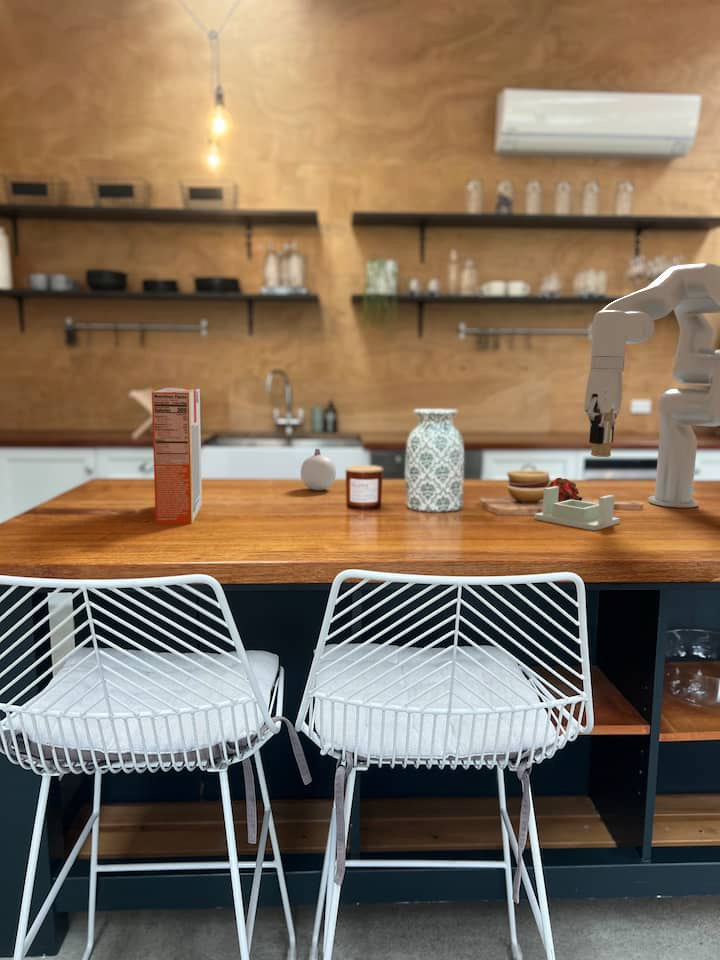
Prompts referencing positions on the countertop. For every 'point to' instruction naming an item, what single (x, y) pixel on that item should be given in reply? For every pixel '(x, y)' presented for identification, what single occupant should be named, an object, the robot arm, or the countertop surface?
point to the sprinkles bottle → (604, 448)
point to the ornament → (318, 472)
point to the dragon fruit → (565, 489)
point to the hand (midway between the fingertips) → (601, 442)
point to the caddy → (577, 511)
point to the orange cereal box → (177, 454)
